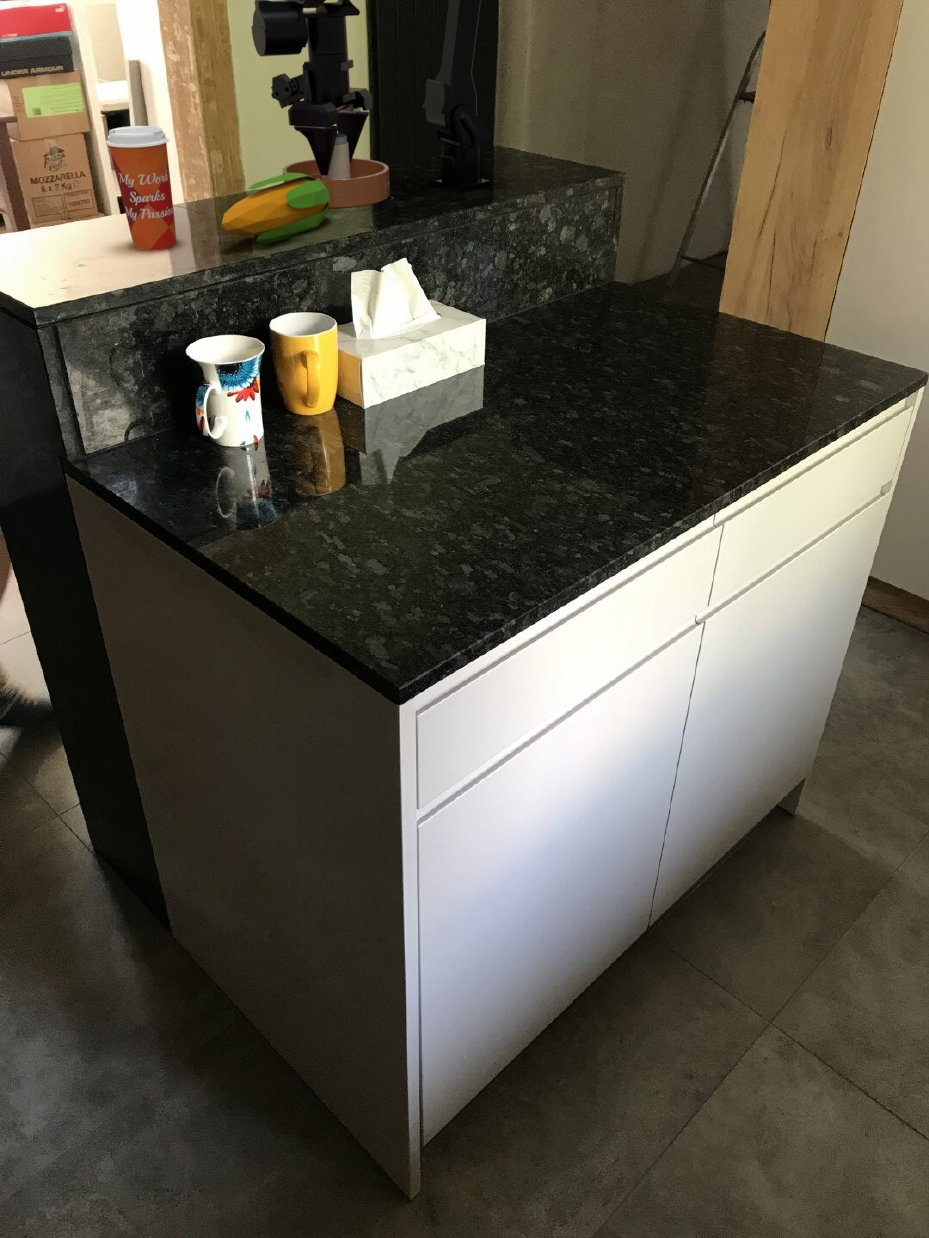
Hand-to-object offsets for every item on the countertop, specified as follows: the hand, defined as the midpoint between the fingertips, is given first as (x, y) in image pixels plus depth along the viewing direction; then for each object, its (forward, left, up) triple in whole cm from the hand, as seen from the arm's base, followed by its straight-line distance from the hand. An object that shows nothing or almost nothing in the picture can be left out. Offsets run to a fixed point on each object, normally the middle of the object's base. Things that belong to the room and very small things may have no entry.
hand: (336, 169), depth 153 cm
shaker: (0, 0, -4) cm, 4 cm away
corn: (+20, +11, -5) cm, 23 cm away
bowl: (0, 0, -4) cm, 4 cm away
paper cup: (+34, +2, -5) cm, 34 cm away
